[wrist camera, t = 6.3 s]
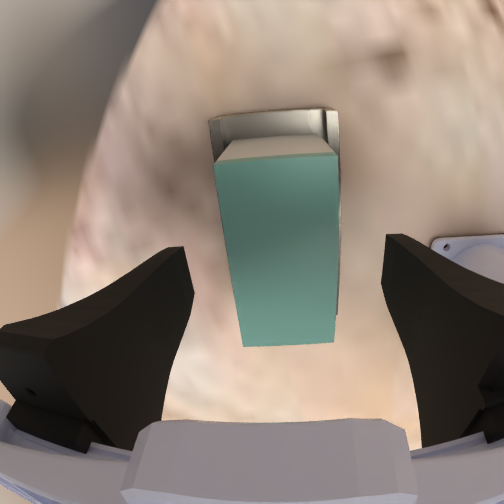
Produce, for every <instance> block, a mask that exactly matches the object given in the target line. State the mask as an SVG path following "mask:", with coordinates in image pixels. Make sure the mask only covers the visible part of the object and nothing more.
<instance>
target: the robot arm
mask: <svg viewBox="0 0 504 504" xmlns="http://www.w3.org/2000/svg"><path fill="white" fill-rule="evenodd" d="M446 244H448V245H447V247H446V248H444V246H445V245H446ZM381 285H382V289H383V293H384V297H385V300H386V304H387V307H388V310H389V312H390V314H391V317H392V319H393V322H394V324H395V327H396V329H397V332H398V334H399V337H400V339H401V342H402V344H403V347H404V349H405V352H406V355H407V358H408V361H409V365H410V369H411V374H412V378H413V382H414V388H415V393H416V399H417V405H418V411H419V420H420V428H421V440H422V448H421V449H417V450H412V451H409V446H408V441H407V437H406V432H405V429H402V428H400V427H398V426H396V425H394V424H392V423H390V422H388V421H385V420H382V419H358V418H347V419H337V420H324V421H309V422H284V423H239V422H214V421H198V420H167V421H161V418H162V411H163V406H164V400H165V394H166V389H167V385H168V380H169V375H170V371H171V368H172V365H173V361H174V359H175V356H176V353H177V350H178V348H179V345H180V342H181V339H182V337H183V334H184V331H185V328H186V326H187V323H188V320H189V317H190V314H191V309H192V304H193V299H194V294H195V293H194V289H193V284H192V280H191V276H190V272H189V268H188V264H187V259H186V255H185V251H184V246H182V247H168V248H166V249H164V250H162V251H160V252H158V253H157V254H155V255H154V256H152V257H151V258H149V259H148V260H146V261H145V262H143V263H142V264H140V265H139V266H138V267H136V268H135V269H133V270H132V271H130V272H129V273H127V274H125V275H124V276H122V277H121V278H119V279H118V280H116V281H115V282H113V283H111V284H110V285H108V286H107V287H105V288H103V289H101V290H100V291H98V292H96V293H94V294H92V295H90V296H88V297H86V298H84V299H82V300H80V301H77V302H75V303H73V304H70V305H68V306H66V307H64V308H61V309H59V310H56V311H53V312H51V313H47V314H45V315H41V316H39V317H35V318H32V319H27V320H23V321H19V322H15V323H11V324H6V325H4V326H3V327H2V328H1V329H0V381H1V382H2V383H3V385H4V386H5V387H6V388H7V390H8V391H9V392H10V393H11V395H12V396H13V397H14V398H15V399H16V401H15V403H14V404H13V406H12V407H11V406H10V405H9V404H8V403H6V402H4V401H2V400H0V484H1V485H2V486H4V487H6V488H7V489H9V490H11V491H12V492H14V493H16V494H18V495H19V496H21V497H22V498H24V499H26V500H28V501H30V502H31V503H33V504H504V234H500V235H482V236H465V237H448V238H437V239H435V240H434V241H433V243H432V245H431V249H430V248H429V247H427V246H425V245H423V244H422V243H420V242H418V241H416V240H415V239H413V238H411V237H409V236H407V235H404V234H386V241H385V252H384V262H383V271H382V279H381Z"/></svg>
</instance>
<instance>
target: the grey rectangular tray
mask: <svg viewBox="0 0 504 504" xmlns="http://www.w3.org/2000/svg"><path fill="white" fill-rule="evenodd" d="M209 128H210V136H211V143H212V149H213V156H214V163H215V162H216V161H217V159H218V158H219V157H220V156H221V154H222V153H223V152H224V151H225V149H226V148H227V147H228V146H229V144H230V143H231V142H232V141H233V140H241V139H251V138H262V137H274V136H288V135H305V134H319V135H320V136H321V137H322V138H323V140H324V141H325V142H326V143H327V144H328V145H329V146H330V147H331V149H332V150H333V151H334V152H335V153H336V154H337V155H338V179H339V249H338V281H337V303H336V315H337V313H338V296H339V275H340V241H341V179H340V146H339V125H338V111H337V110H335V109H332V108H304V109H287V110H273V111H261V112H251V113H241V114H232V115H224V116H217V117H215V118H213V119H211V120H209Z"/></svg>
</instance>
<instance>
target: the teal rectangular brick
mask: <svg viewBox="0 0 504 504" xmlns="http://www.w3.org/2000/svg"><path fill="white" fill-rule="evenodd" d="M213 168H214V174H215V181H216V187H217V194H218V200H219V207H220V213H221V219H222V226H223V232H224V238H225V244H226V250H227V256H228V262H229V268H230V274H231V280H232V286H233V292H234V297H235V303H236V309H237V315H238V320H239V326H240V331H241V337H242V342H243V347H252V346H281V345H301V344H316V343H330V342H334V334H335V319H336V303H337V281H338V249H339V179H338V155H337V154H336V153H335V152H334V151H333V150H332V149H331V147H330V146H329V145H328V144H327V143H326V142H325V141H324V140H323V138H322V137H321V136H320V135H319V134H305V135H288V136H274V137H262V138H251V139H241V140H233V141H232V142H231V143H230V144H229V146H228V147H227V148H226V149H225V151H224V152H223V153H222V154H221V156H220V157H219V158H218V159H217V161H216V162H215V163H214V165H213Z"/></svg>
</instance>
